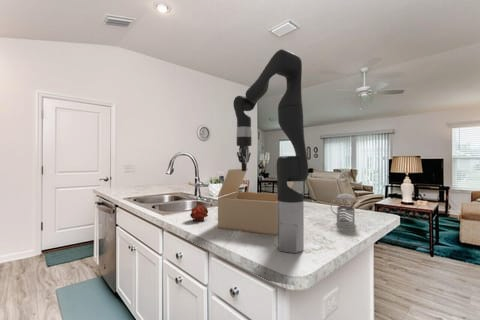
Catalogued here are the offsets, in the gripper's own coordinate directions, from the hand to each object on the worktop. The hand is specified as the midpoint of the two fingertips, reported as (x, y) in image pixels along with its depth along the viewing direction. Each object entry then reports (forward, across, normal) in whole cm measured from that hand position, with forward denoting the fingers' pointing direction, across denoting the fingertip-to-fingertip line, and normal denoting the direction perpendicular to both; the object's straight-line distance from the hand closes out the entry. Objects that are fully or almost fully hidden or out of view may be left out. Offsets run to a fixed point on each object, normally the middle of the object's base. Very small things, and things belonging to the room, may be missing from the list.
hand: (244, 170), depth 121 cm
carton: (+26, -1, -6) cm, 27 cm away
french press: (+26, +15, -46) cm, 55 cm away
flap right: (+5, -1, -22) cm, 23 cm away
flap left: (+5, -1, +5) cm, 7 cm away
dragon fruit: (+26, -4, +24) cm, 36 cm away
